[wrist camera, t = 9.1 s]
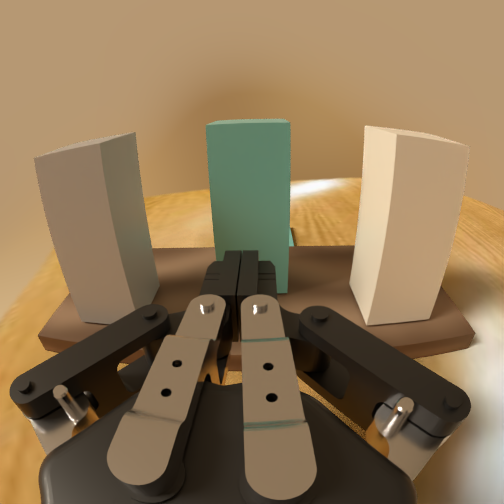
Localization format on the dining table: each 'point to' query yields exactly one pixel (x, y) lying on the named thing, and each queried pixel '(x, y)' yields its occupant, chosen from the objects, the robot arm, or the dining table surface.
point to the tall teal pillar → (251, 189)
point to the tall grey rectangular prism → (99, 225)
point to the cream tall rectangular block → (405, 222)
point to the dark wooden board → (295, 300)
